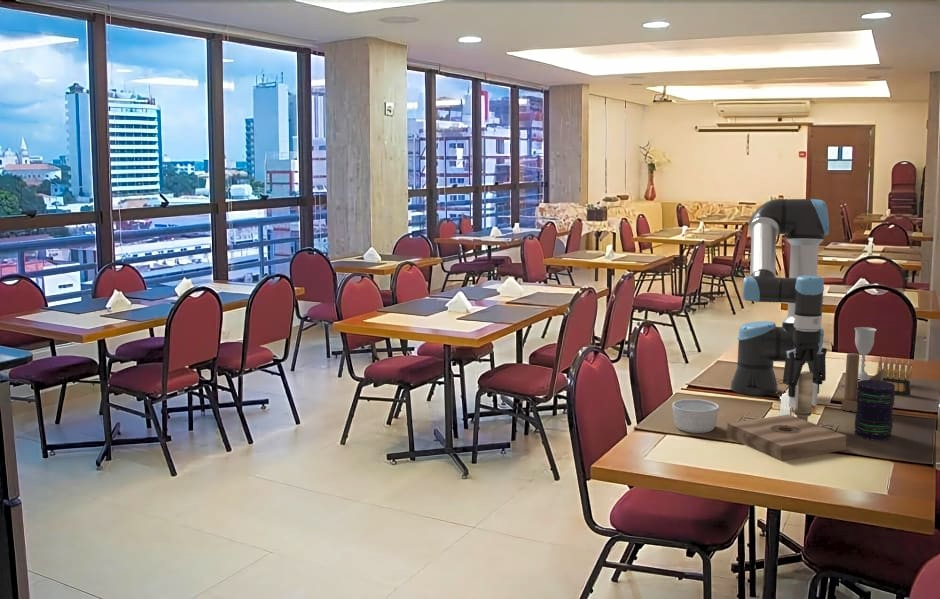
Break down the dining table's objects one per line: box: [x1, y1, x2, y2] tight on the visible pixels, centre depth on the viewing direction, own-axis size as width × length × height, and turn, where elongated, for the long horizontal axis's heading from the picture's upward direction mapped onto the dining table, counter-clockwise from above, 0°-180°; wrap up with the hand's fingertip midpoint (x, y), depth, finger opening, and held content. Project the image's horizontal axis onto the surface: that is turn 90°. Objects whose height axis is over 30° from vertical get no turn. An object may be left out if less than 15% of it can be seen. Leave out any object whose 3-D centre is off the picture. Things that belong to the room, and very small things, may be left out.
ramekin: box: [671, 398, 720, 434], centre depth 264 cm, size 13×13×7 cm
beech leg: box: [793, 370, 813, 422], centre depth 265 cm, size 5×5×16 cm
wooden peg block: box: [841, 352, 884, 413], centre depth 278 cm, size 4×11×18 cm, turn 53°
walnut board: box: [726, 414, 847, 462], centre depth 250 cm, size 22×22×4 cm
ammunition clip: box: [876, 356, 912, 396], centre depth 301 cm, size 11×2×12 cm, turn 56°
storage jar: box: [854, 380, 896, 441], centre depth 256 cm, size 10×10×15 cm
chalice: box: [853, 326, 877, 381], centre depth 320 cm, size 7×7×18 cm
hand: (802, 406), depth 265 cm, fingers open, 6 cm apart
